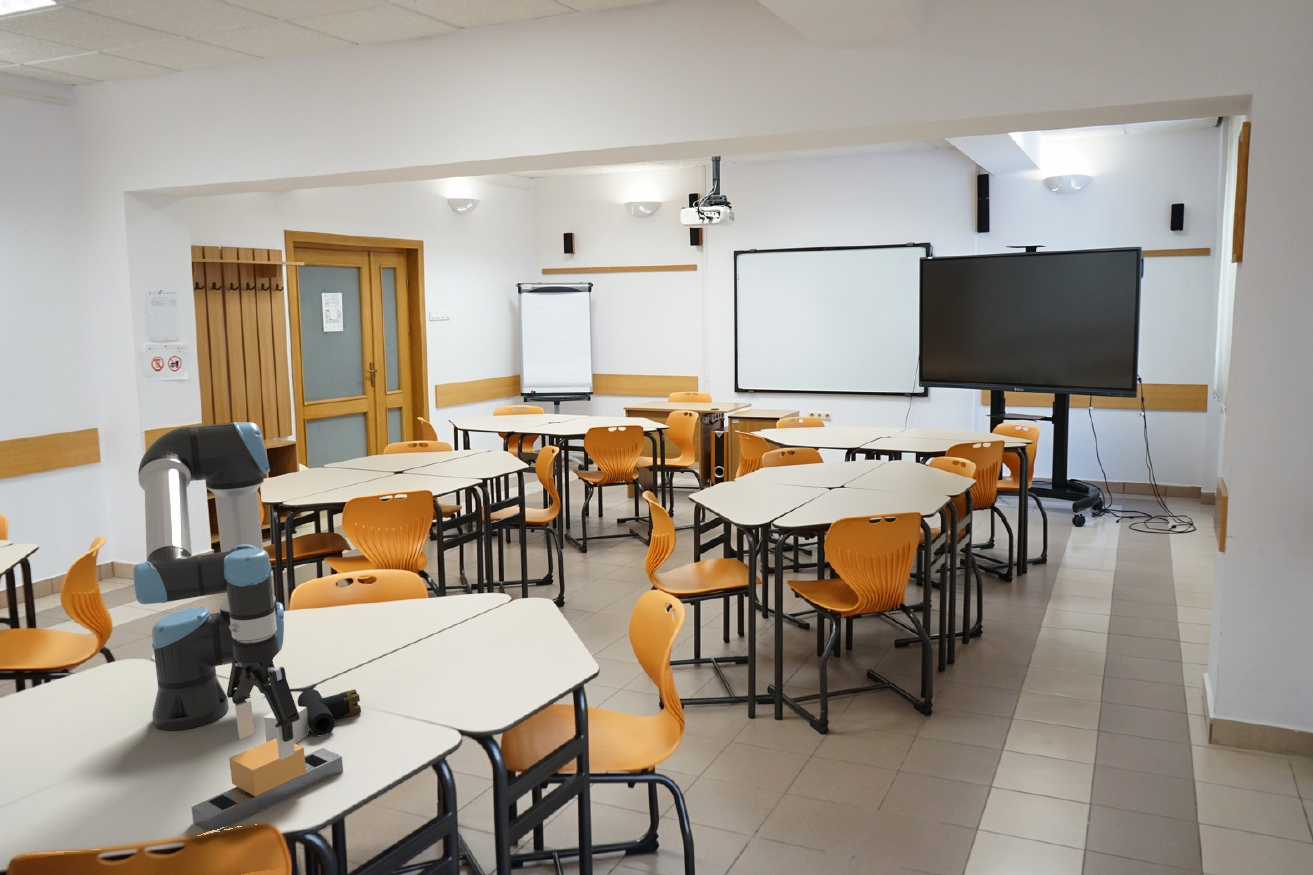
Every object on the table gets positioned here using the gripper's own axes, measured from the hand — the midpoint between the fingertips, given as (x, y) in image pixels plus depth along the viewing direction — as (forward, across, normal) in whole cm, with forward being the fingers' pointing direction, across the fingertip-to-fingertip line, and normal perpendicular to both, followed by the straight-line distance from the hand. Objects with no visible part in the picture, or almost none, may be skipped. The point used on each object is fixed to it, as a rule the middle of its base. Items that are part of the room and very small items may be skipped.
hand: (266, 745), depth 173 cm
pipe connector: (+11, -19, +26) cm, 34 cm away
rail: (+10, +1, 0) cm, 10 cm away
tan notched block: (+10, +1, 0) cm, 10 cm away
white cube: (+10, -18, +14) cm, 25 cm away
